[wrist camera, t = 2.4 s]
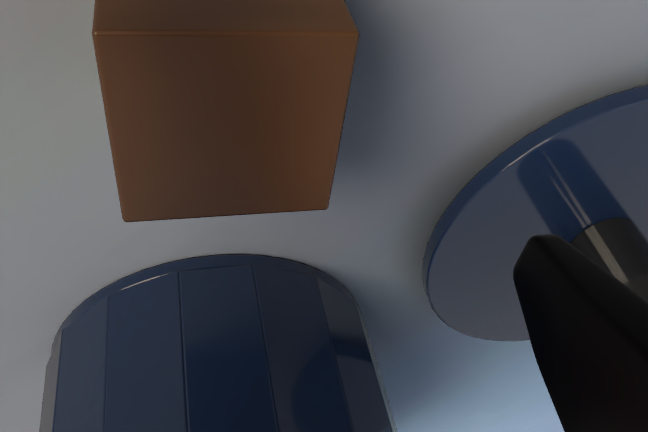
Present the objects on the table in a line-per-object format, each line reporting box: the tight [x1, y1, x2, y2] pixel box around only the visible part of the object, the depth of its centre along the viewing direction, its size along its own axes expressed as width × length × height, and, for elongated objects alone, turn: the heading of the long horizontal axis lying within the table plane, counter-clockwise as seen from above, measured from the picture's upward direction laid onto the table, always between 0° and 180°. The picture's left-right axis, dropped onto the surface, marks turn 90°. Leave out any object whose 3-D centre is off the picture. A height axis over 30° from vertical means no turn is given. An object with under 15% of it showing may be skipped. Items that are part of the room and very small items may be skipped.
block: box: [92, 0, 359, 222], centre depth 12 cm, size 4×4×4 cm
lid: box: [422, 85, 648, 341], centre depth 21 cm, size 13×13×5 cm
